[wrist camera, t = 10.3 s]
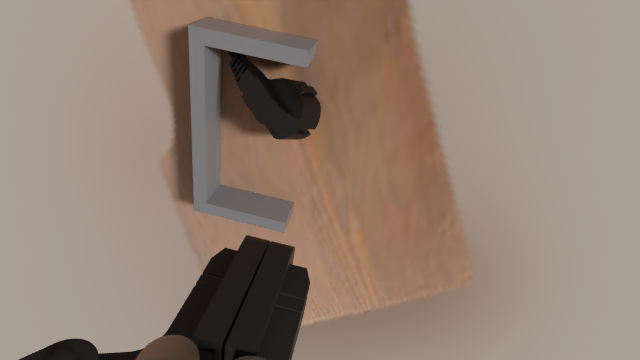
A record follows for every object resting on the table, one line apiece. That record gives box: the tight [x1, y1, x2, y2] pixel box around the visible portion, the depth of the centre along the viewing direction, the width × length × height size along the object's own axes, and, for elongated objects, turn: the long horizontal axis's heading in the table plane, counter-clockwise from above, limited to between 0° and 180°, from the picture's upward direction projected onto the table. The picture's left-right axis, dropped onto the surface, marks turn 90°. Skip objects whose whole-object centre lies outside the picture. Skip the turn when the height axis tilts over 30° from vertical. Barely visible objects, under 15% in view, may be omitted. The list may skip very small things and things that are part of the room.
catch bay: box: [188, 17, 318, 233], centre depth 41 cm, size 21×11×4 cm, turn 170°
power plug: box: [227, 51, 324, 139], centre depth 39 cm, size 6×8×12 cm
